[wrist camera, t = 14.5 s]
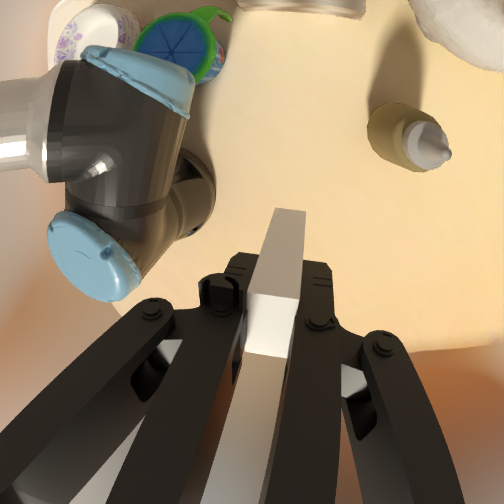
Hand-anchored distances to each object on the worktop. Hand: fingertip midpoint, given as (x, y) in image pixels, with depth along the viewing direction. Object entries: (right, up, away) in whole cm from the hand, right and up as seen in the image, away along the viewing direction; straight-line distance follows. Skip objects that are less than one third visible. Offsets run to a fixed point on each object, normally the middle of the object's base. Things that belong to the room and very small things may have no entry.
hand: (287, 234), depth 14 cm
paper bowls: (-25, +33, +18) cm, 45 cm away
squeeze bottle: (+17, +16, +18) cm, 30 cm away
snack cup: (-9, +26, +18) cm, 33 cm away
